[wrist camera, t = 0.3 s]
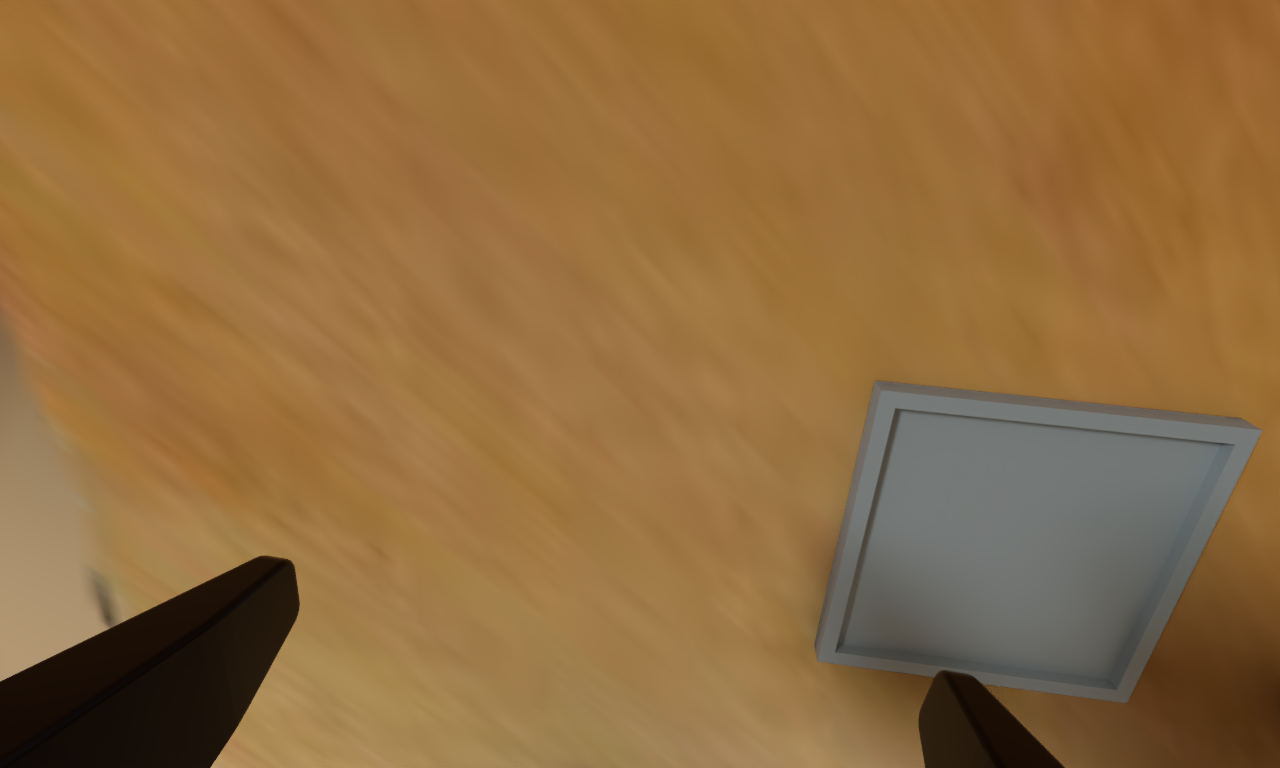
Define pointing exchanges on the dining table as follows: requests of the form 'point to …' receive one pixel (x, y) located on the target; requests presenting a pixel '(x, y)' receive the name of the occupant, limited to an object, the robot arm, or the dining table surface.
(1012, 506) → the tray
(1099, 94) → the dining table surface
